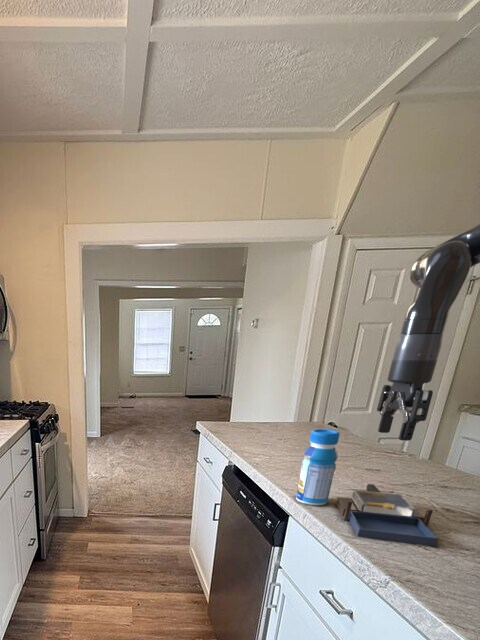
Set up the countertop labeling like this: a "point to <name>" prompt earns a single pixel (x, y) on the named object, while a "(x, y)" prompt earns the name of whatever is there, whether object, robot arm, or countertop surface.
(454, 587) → the countertop surface
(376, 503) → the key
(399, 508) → the grey dustpan
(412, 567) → the countertop surface
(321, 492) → the beverage bottle
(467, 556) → the countertop surface
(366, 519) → the tray
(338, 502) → the stand
